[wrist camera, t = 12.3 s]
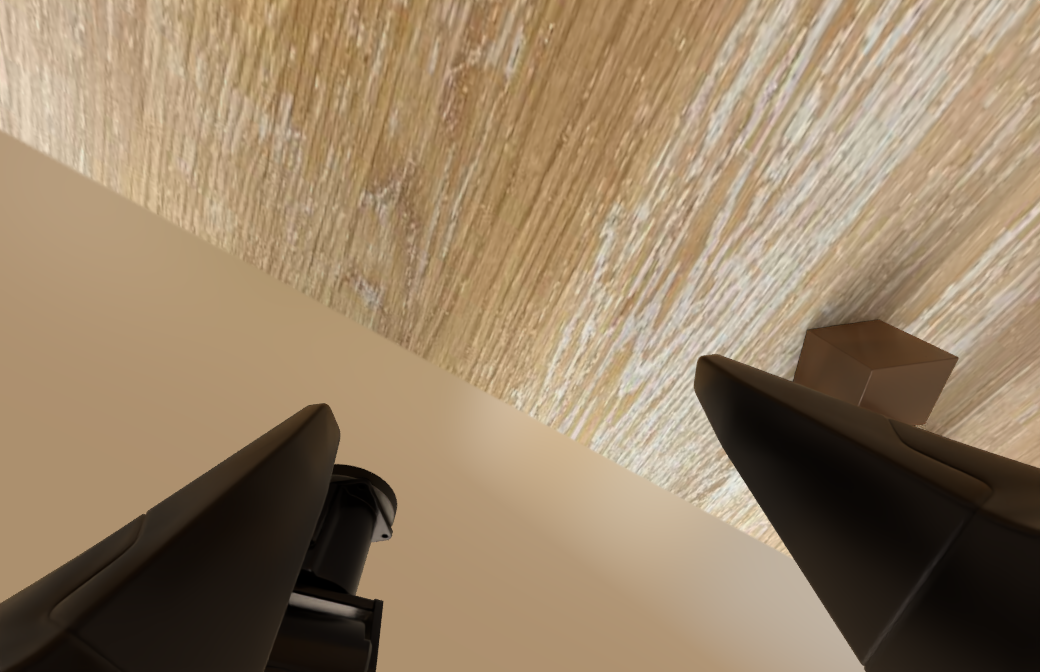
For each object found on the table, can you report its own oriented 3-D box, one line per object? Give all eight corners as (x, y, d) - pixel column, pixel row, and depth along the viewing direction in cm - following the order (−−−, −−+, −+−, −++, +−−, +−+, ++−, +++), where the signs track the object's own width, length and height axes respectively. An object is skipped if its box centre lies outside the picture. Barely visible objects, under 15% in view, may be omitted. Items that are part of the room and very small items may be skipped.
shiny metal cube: (857, 379, 25) (925, 424, 21) (790, 388, 25) (846, 435, 21) (879, 319, 23) (960, 357, 19) (806, 329, 23) (872, 369, 19)
